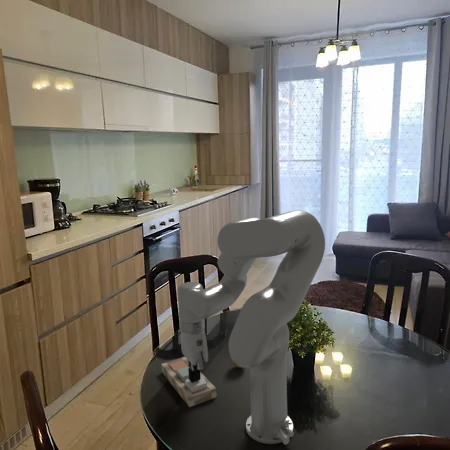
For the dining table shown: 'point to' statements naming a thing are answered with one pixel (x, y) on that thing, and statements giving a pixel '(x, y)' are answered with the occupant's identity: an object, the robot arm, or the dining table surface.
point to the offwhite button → (196, 385)
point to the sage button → (183, 374)
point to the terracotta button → (177, 365)
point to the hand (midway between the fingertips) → (194, 379)
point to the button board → (183, 390)
